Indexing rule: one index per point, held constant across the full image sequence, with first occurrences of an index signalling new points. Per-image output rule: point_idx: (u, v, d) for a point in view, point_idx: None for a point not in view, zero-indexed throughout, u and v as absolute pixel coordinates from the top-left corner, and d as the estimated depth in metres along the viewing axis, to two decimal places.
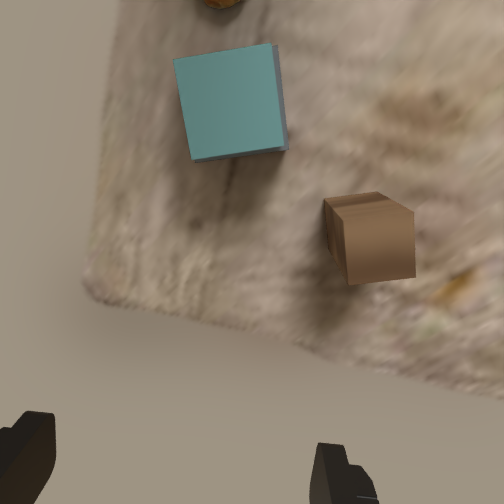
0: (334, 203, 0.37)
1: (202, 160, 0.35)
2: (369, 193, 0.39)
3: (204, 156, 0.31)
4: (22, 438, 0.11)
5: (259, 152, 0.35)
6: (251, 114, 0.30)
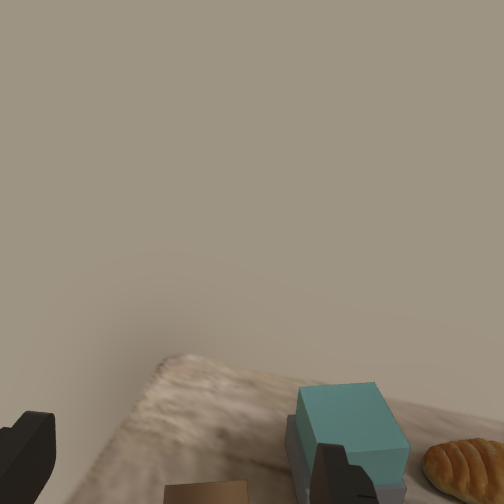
0: None
1: (290, 420, 0.39)
2: None
3: (302, 395, 0.36)
4: (22, 438, 0.11)
5: (301, 466, 0.34)
6: (344, 429, 0.33)
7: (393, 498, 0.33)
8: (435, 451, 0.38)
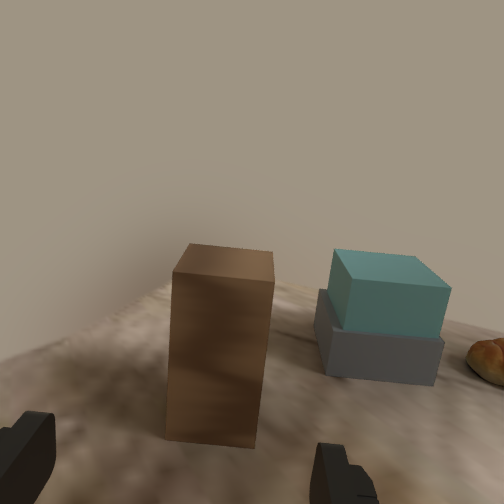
0: None
1: (321, 291, 0.37)
2: None
3: (337, 252, 0.35)
4: (22, 438, 0.11)
5: (329, 315, 0.32)
6: (379, 271, 0.31)
7: (428, 355, 0.30)
8: (482, 343, 0.34)
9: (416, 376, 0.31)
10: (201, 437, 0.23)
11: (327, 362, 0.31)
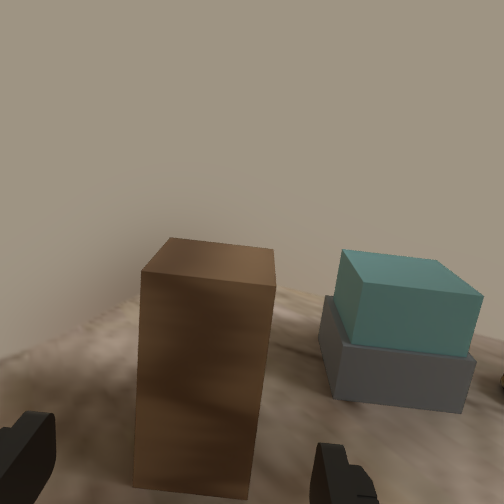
0: None
1: (327, 298, 0.32)
2: None
3: (346, 253, 0.30)
4: (22, 438, 0.11)
5: (338, 327, 0.27)
6: (396, 275, 0.26)
7: (457, 376, 0.25)
8: None
9: (441, 400, 0.26)
10: (179, 484, 0.18)
11: (335, 383, 0.26)
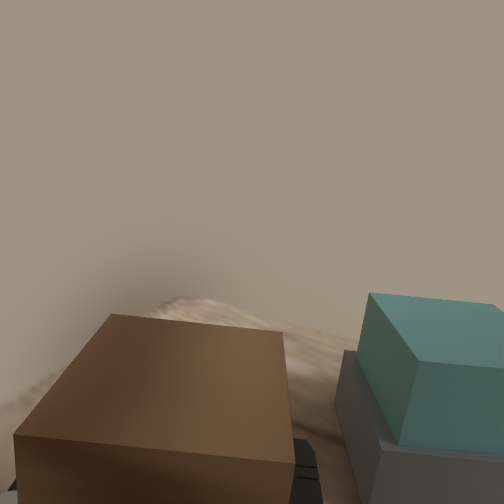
0: None
1: (348, 356, 0.24)
2: None
3: (376, 299, 0.22)
4: None
5: (369, 410, 0.19)
6: (456, 340, 0.18)
7: None
8: None
9: None
10: None
11: (368, 497, 0.18)
